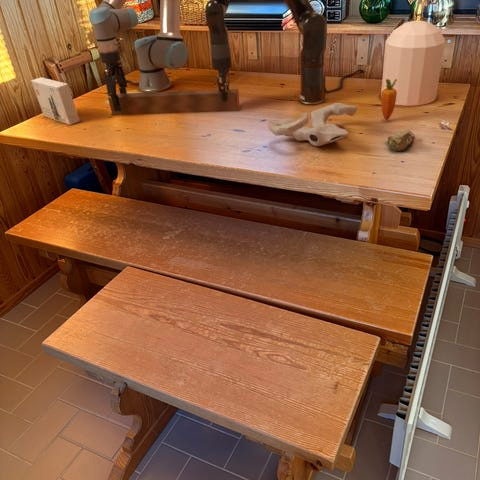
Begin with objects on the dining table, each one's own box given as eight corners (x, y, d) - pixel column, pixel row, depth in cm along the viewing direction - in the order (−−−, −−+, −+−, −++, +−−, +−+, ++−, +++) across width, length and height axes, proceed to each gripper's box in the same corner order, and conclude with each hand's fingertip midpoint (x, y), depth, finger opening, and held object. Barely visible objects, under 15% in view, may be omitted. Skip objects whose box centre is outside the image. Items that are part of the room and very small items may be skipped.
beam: (112, 115, 196) (107, 97, 192) (116, 111, 200) (112, 93, 196) (238, 111, 188) (236, 92, 183) (239, 106, 192) (238, 88, 187)
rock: (408, 140, 153) (379, 139, 152) (414, 122, 149) (384, 120, 148) (421, 154, 144) (391, 153, 143) (428, 135, 140) (396, 133, 139)
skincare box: (42, 117, 201) (30, 80, 192) (53, 113, 205) (42, 76, 196) (69, 125, 189) (57, 86, 180) (80, 121, 193) (69, 82, 184)
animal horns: (266, 154, 150) (264, 118, 144) (276, 126, 172) (275, 94, 165) (355, 154, 144) (357, 117, 138) (355, 125, 166) (356, 92, 159)
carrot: (394, 118, 167) (398, 76, 158) (393, 123, 163) (397, 80, 154) (379, 117, 168) (383, 75, 160) (378, 122, 165) (382, 80, 156)
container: (406, 109, 173) (416, 29, 157) (369, 95, 189) (375, 21, 173) (448, 97, 179) (462, 19, 163) (409, 85, 195) (418, 12, 180)
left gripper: (107, 57, 174) (121, 115, 187) (126, 44, 191) (138, 98, 204) (89, 58, 175) (104, 116, 188) (109, 45, 193) (122, 99, 205)
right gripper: (227, 59, 172) (232, 104, 182) (233, 50, 184) (237, 92, 193) (208, 61, 173) (213, 105, 183) (215, 51, 185) (219, 93, 194)
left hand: (121, 106), depth 196 cm, fingers open, 9 cm apart
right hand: (225, 98), depth 188 cm, fingers open, 5 cm apart
